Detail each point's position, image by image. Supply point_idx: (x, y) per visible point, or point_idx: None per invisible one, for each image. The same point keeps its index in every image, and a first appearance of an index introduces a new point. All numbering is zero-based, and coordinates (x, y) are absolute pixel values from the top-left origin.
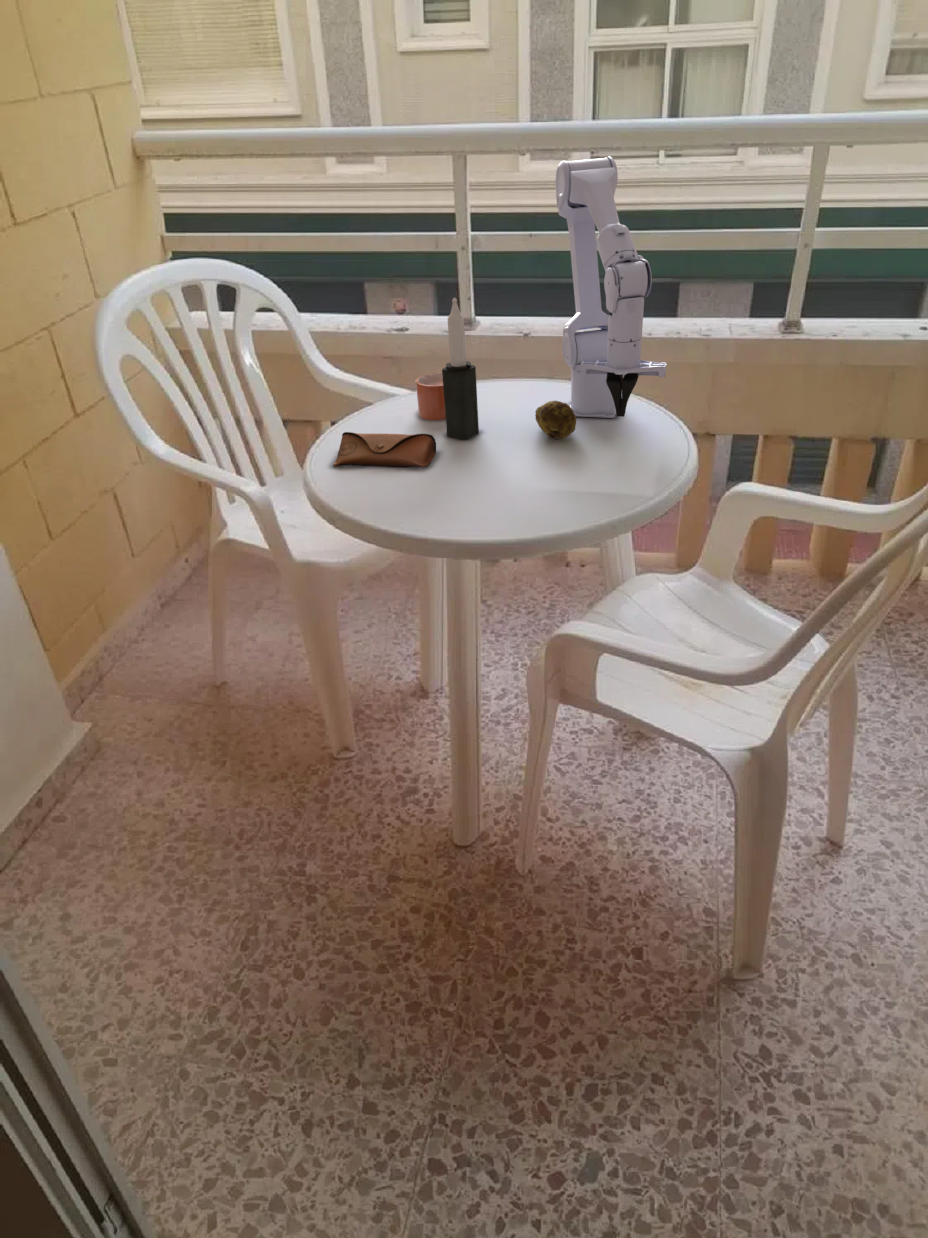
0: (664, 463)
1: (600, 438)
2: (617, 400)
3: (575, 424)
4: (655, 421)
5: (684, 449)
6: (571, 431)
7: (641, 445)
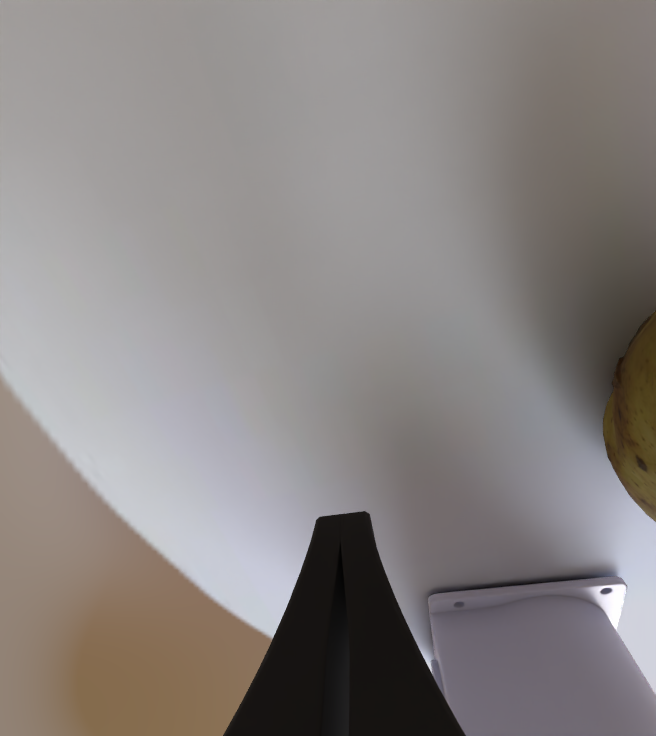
0: (31, 254)
1: (439, 435)
2: (369, 632)
3: (647, 374)
4: (278, 600)
5: (53, 429)
6: (644, 328)
7: (237, 417)
